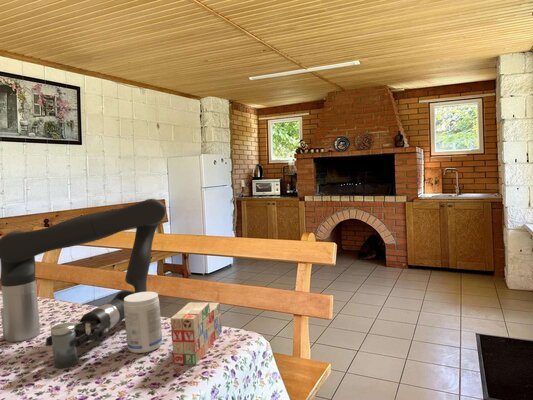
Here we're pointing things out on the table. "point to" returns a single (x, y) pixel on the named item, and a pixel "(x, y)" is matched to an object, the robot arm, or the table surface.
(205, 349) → the stack of blocks
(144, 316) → the supplement tub
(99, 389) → the table surface
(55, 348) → the tea tin
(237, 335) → the table surface
